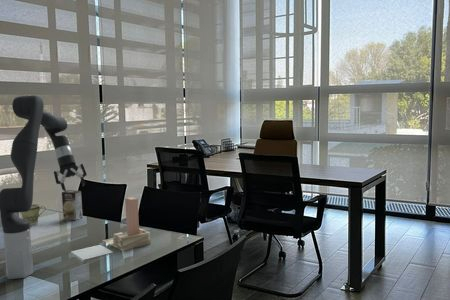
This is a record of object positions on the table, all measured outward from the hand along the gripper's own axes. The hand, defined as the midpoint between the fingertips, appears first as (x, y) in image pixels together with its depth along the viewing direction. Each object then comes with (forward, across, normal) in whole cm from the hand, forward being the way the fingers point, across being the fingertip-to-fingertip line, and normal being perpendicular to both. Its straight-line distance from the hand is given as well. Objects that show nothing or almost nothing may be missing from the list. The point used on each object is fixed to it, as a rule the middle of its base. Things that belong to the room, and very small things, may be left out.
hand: (74, 188), depth 206 cm
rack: (+34, +14, -10) cm, 38 cm away
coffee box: (+8, -6, +49) cm, 50 cm away
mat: (+34, -1, -18) cm, 38 cm away
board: (+34, +18, -12) cm, 40 cm away
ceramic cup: (+4, -26, +46) cm, 53 cm away
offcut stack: (+33, +12, -14) cm, 38 cm away
